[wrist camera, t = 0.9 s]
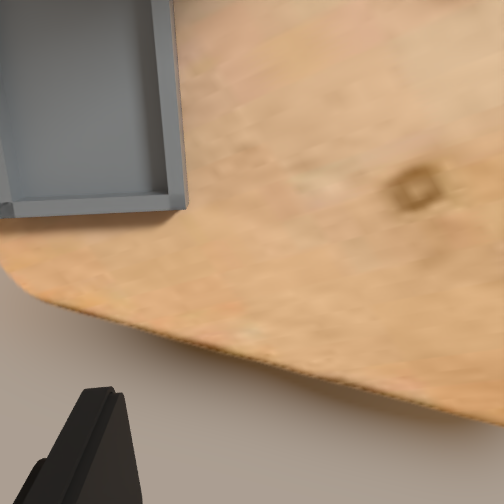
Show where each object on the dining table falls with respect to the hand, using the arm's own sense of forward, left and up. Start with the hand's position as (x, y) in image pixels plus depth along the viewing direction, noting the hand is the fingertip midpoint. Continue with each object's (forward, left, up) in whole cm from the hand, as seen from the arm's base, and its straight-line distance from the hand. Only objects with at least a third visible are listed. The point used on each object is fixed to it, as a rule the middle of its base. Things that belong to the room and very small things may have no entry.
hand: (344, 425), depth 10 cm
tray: (-9, -13, -30) cm, 34 cm away
